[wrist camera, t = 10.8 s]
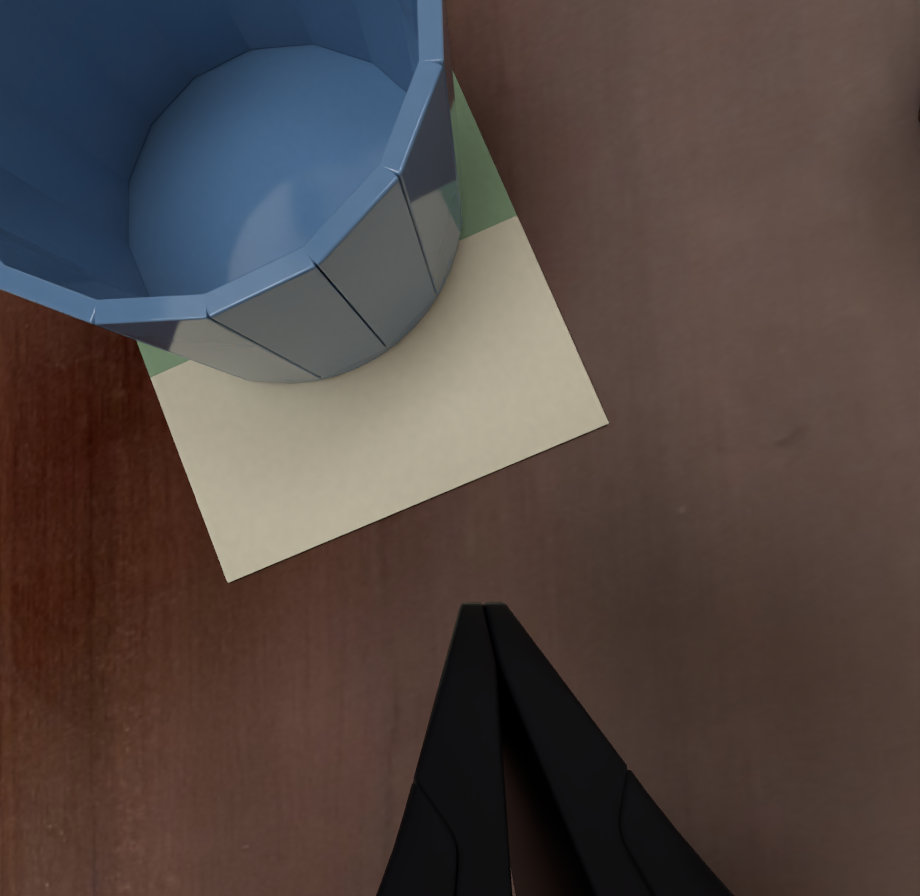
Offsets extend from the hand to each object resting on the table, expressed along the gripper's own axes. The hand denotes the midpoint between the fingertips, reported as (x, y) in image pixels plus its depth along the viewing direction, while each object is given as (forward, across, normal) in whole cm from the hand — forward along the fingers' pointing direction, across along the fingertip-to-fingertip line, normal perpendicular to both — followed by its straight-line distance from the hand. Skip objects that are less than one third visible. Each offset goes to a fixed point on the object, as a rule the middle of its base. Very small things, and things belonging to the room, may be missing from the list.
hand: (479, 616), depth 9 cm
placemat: (+17, +5, -1) cm, 18 cm away
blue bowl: (+20, +7, -5) cm, 22 cm away
